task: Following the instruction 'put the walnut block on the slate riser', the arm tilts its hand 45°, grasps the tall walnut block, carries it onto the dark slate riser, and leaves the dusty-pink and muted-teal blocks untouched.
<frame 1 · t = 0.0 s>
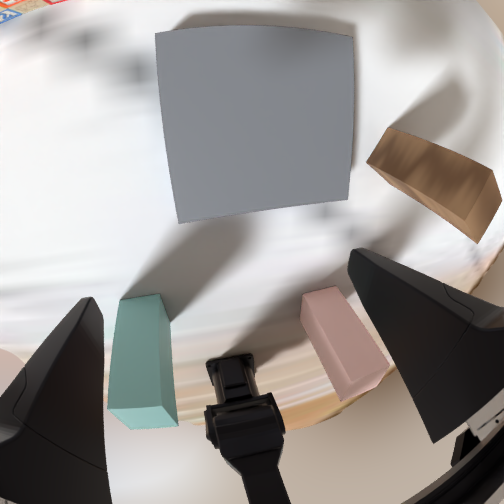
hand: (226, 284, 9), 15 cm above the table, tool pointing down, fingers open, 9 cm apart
dusty pink block: (317, 303, 33), on the table
slate riser: (256, 115, 19), on the table
muted teal block: (145, 312, 27), on the table
walnut block: (389, 156, 24), on the table
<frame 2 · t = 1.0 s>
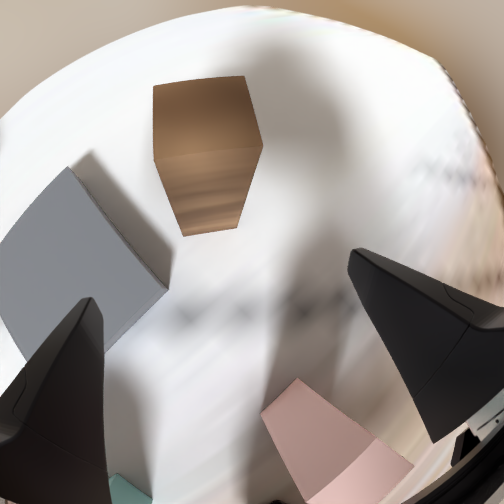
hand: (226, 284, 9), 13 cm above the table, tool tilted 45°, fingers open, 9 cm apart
dusty pink block: (296, 410, 20), on the table
slate riser: (65, 283, 20), on the table
muted teal block: (123, 494, 16), on the table
walnut block: (206, 207, 23), on the table
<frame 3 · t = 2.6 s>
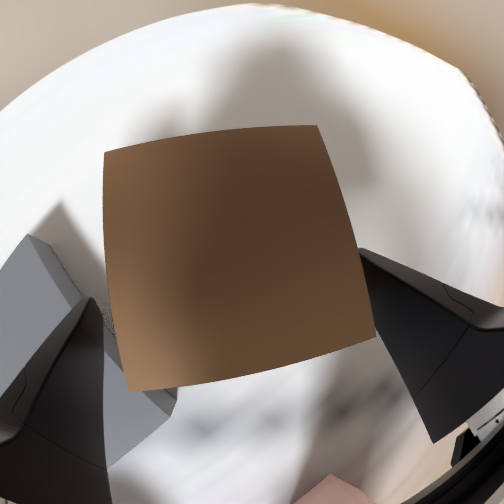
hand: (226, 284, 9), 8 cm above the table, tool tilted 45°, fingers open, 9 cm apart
dusty pink block: (325, 499, 14), on the table
slate riser: (48, 380, 13), on the table
walnut block: (219, 292, 17), on the table
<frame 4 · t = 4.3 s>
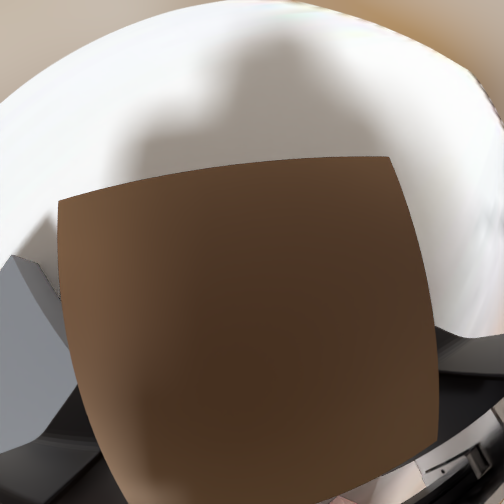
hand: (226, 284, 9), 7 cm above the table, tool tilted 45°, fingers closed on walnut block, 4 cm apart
slate riser: (44, 407, 12), on the table
walnut block: (226, 319, 15), on the table, touching gripper
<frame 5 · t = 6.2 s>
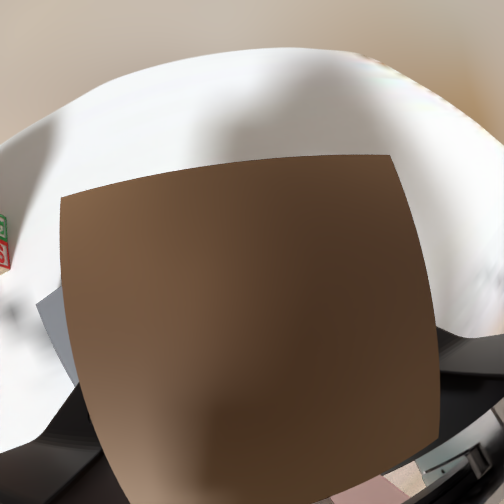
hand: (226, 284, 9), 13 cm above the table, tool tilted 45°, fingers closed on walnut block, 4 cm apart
dusty pink block: (340, 472, 19), on the table
slate riser: (148, 342, 20), on the table
walnut block: (226, 318, 15), point 7 cm above the table, touching gripper
when the fingers open (11 cm above the table, at t = 8.0 s): walnut block drops 1 cm, resting on slate riser.
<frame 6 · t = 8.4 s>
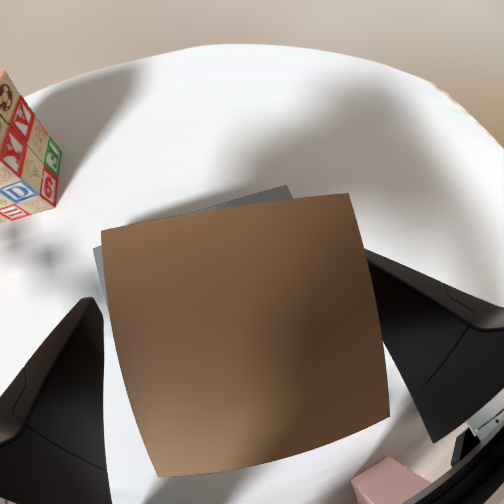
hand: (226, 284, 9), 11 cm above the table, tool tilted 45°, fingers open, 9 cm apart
dusty pink block: (373, 480, 17), on the table
slate riser: (223, 317, 19), on the table
walnut block: (225, 318, 16), point 3 cm above the table, touching slate riser
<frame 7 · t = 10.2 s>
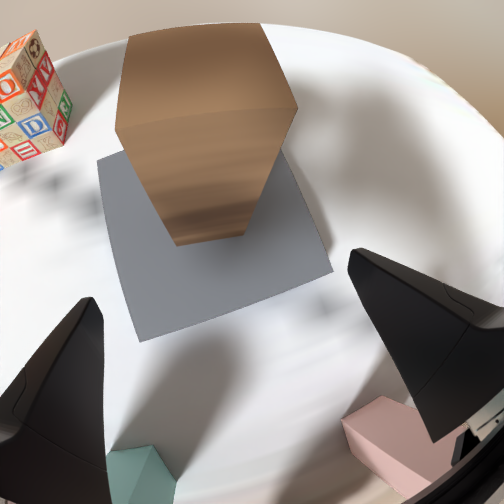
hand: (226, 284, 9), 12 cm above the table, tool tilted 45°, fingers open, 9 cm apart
dusty pink block: (366, 425, 19), on the table
slate riser: (205, 222, 21), on the table
muted teal block: (142, 468, 16), on the table
walnut block: (204, 209, 18), point 3 cm above the table, touching slate riser
stack of blocks: (3, 152, 20), on the table
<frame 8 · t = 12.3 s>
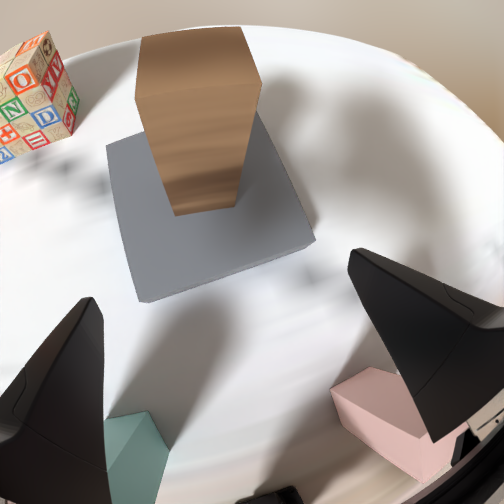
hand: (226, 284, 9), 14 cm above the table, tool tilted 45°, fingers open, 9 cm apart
dusty pink block: (356, 396, 21), on the table
slate riser: (201, 200, 23), on the table
muted teal block: (137, 436, 18), on the table
walnut block: (200, 185, 20), point 3 cm above the table, touching slate riser
stack of blocks: (13, 143, 22), on the table
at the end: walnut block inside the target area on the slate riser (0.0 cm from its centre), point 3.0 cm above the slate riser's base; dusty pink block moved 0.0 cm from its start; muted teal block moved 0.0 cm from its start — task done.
